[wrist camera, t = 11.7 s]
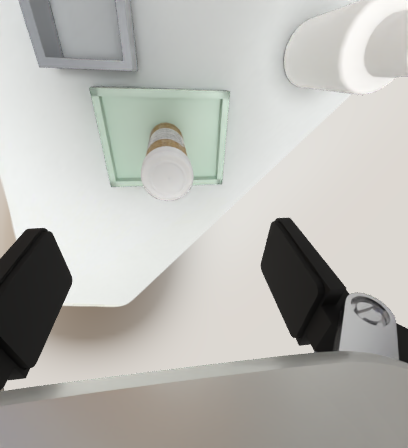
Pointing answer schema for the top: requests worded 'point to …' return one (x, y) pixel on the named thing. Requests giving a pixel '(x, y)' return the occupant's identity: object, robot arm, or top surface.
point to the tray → (153, 115)
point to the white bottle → (350, 48)
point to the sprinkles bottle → (166, 164)
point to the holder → (50, 46)
